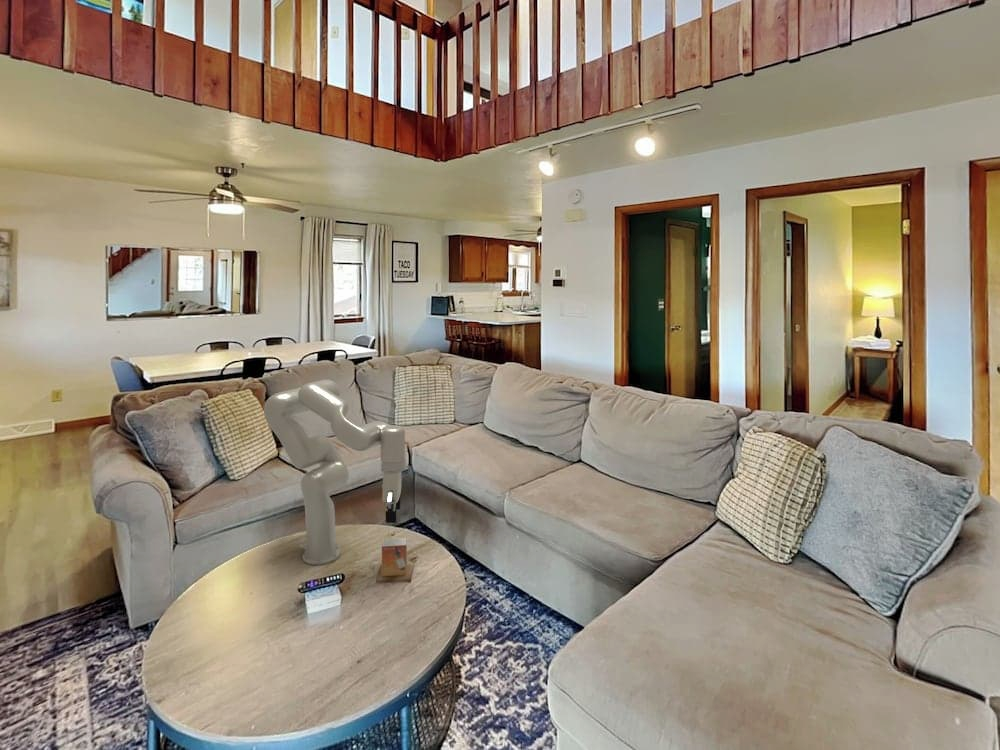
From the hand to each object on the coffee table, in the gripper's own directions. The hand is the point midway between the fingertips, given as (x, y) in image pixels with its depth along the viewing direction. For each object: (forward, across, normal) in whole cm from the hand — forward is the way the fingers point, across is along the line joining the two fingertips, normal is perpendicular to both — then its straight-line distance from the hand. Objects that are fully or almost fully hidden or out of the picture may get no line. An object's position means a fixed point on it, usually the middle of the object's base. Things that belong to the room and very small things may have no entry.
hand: (393, 515), depth 169 cm
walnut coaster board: (+20, 0, +1) cm, 21 cm away
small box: (+20, 0, 0) cm, 20 cm away
